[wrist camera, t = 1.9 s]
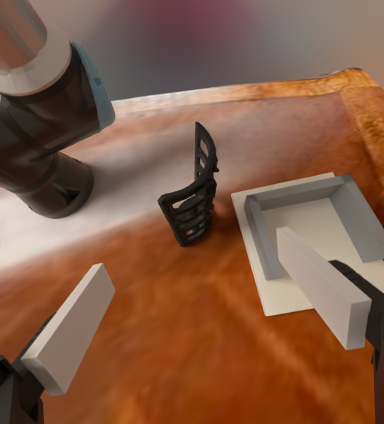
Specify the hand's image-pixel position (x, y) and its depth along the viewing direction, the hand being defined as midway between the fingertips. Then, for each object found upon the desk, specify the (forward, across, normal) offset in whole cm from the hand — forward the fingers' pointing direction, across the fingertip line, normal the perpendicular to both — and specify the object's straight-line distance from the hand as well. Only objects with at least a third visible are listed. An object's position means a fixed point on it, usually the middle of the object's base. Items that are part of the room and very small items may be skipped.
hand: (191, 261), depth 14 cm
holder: (+23, 0, -7) cm, 24 cm away
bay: (+18, +18, -12) cm, 28 cm away
